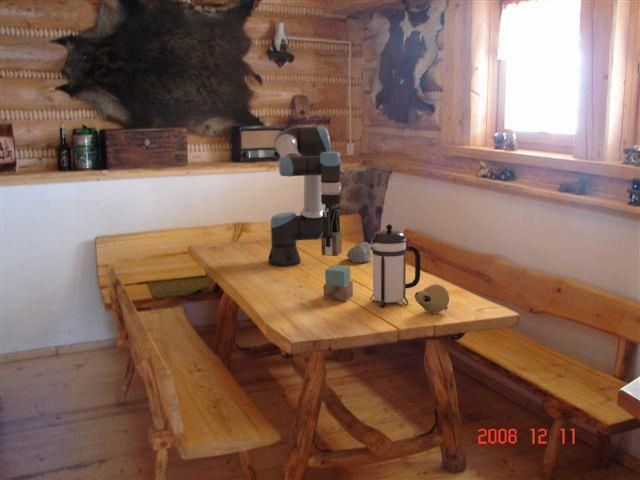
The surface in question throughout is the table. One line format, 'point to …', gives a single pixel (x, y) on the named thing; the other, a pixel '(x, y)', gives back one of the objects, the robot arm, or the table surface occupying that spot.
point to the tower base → (338, 292)
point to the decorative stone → (360, 253)
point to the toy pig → (433, 298)
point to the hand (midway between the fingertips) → (331, 252)
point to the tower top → (337, 276)
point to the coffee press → (391, 266)
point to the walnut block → (335, 242)
